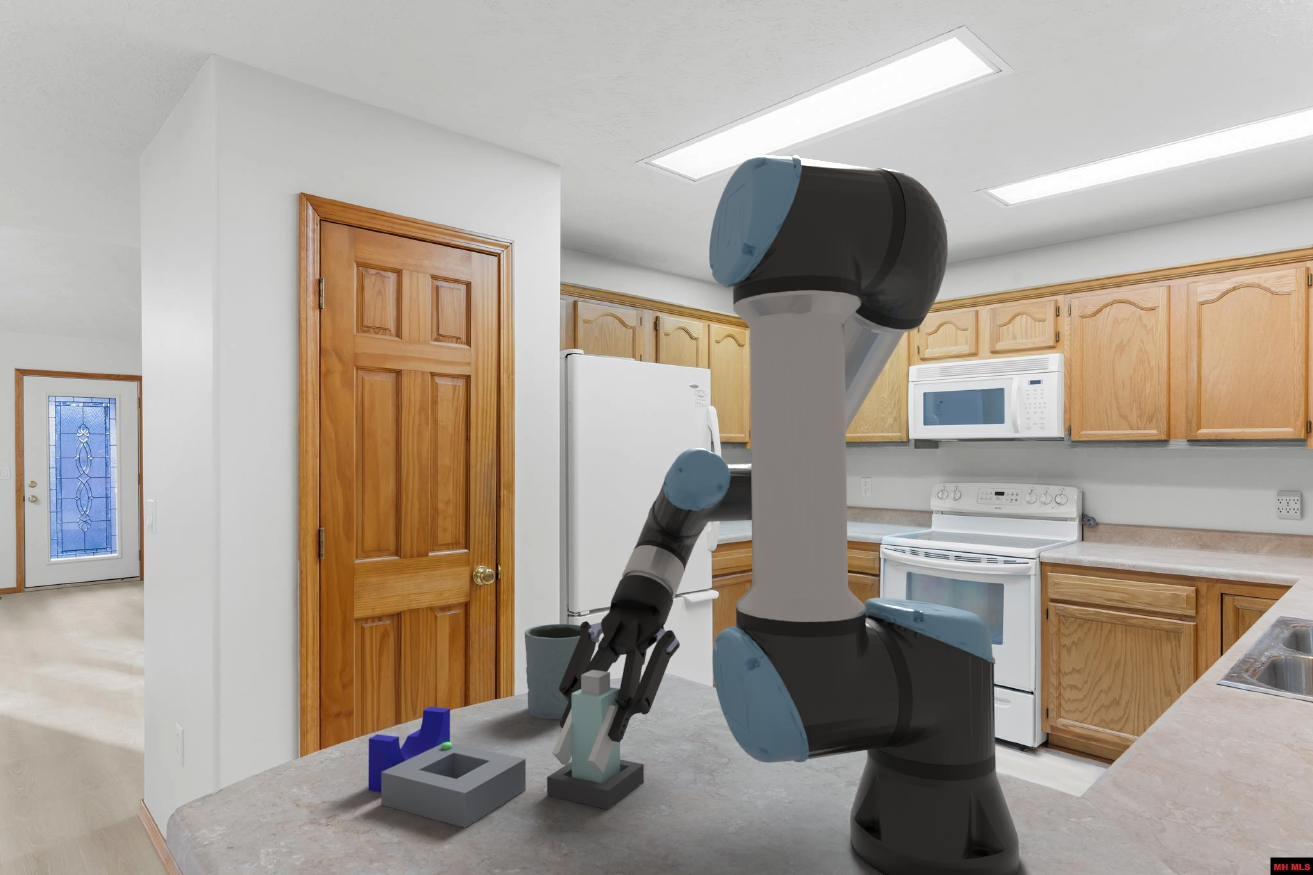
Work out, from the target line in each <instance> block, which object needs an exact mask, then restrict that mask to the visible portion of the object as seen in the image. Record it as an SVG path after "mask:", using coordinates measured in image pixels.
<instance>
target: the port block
mask: <svg viewBox="0 0 1313 875" xmlns="http://www.w3.org/2000/svg"><path fill="white" fill-rule="evenodd" d="M526 764H527V763H526V758H524V757H519V756H514V755H509V754H504V753H499V752H495V751H491V750H490V751H489V750H485V749H481V748H476V747H471V746H467V745H462V744H457V743H453V742H451V741H450V742H445V743H442V744H441V745H439V746H436V747H434V748H432V749H430V750H428V751H426V752H424V753H421V754H419V755H417V756H415V757H413V758H411V759H408V760H406V761H404V762H402V763H400V764H398V765H396V766H393V767H391V768H389V769H387V770H385V771H383V772H381V792H380V796H381V799H380V800H381V801H380V802H381V806H385V807H390V808H393V809H397V810H400V811H403V812H407V813H410V814H413V815H417V816H421V817H425V818H428V819H433V820H436V821H439V822H443V823H447V824H450V825H453V826H457V827H459V828H464V829H466V828H467V827H469V826H471V825H473V824H474V823H475V822H477V821H479V820H480V819H482V818H483V817H485V816H487V815H488V814H489V813H491V812H493V811H495V810H496V809H498V808H500V807H501V806H503V805H505V804H506V803H508V802H509V801H510V800H512V799H514V798H515V797H517V796H518V795H520V794H521V793H524V792H525V791H526V787H527V786H526V784H527V781H526V780H527V779H526V776H527V774H526V766H527V765H526Z"/></svg>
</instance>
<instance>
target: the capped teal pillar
mask: <svg viewBox="0 0 1313 875" xmlns="http://www.w3.org/2000/svg"><path fill="white" fill-rule="evenodd" d="M619 691H620V688H618V687H617V688H616V687H612V686H611V672H610V671H607V672H605V671H597V670H591V671H589V672H587V673H584V674H582V675H581V689H580V690H578V691H576V692H574V693H572V756H571V762H572V777H574V778H579V779H583V780H588V781H592V782H597V783H601V784H605V783H606V782H608V781H609V780H610V779H612V778H613V777H615V776H616V775H617V774H619V773H620V759H621V741H620V742H615V743H614V746H613V749H612V751H611V754H610V757H609V759H608V762H607V765H606V767H605V770H604V773H600V772H597V771H596V770H595V768H594V767H593V766H592V765H591V763H590V762H589V761H588V759H589V756H590V754H591V751H592V749H593V746H594V744H595V741H596V739H597V736H598V734H599V731H600V728H601V726H602V724H603V721H604V719H605V716H606V714H607V711H608V709H609V706H610V705H612V706H616V708H618V705H617V703H616V702H615V699H616V700H617V699H618V696H619ZM617 701H618V700H617Z"/></svg>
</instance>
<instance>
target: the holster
mask: <svg viewBox="0 0 1313 875" xmlns="http://www.w3.org/2000/svg"><path fill="white" fill-rule="evenodd" d="M644 768H645V766H644V763H640V762H635V761H631V760H630V761H629V760H626V759H625V760H624V759H621V758H620V773H619V774H617V775H616V776H615V777H613V778H612V779H610V780H609V781H608V782H606V783H605V784H601V783H597V782H592V781H588V780H583V779H579V778H574V777H572V761H569V763H568V766H567V765H564V766H562V767H561V768H559V769H558V770H556V771H554V772H553V773H551V774H550V775H548V776H546V793H547V794H546V796H549V797H553V798H557V799H562V800H566V801H570V802H573V803H578V804H582V805H583V804H584V805H587V806H591V807H595V808H600V809H603V810H606V811H607V810H610V809H611V808H612V807H613V806H615V805H616V804H617V803H618V802H620V801H621V800H622V799H623V798H625V797H626V796H627V795H629V794H630V793H631V792H632V791H634V790H635V789H636V788H638V787H639V786H641V785H642V783H643V782H645V779H644V778H645V775H644V774H645V773H644V772H645V769H644Z"/></svg>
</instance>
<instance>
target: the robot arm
mask: <svg viewBox="0 0 1313 875" xmlns="http://www.w3.org/2000/svg"><path fill="white" fill-rule="evenodd" d="M943 216H944V215H943V214H942V211H941V209H940V207H939V204H938V202H937V201H936V200H935V199H934V197H933V195H932V194H931V193H930V192H929V190H928V189H927V188H926V187H925V186H924V185H923V184H922V183H921V182H919V181H918V180H916V179H915V178H914V177H912V176H910V175H908V174H906V173H903V172H900V171H898V170H897V171H896V170H893V169H890V168H889V169H888V168H881V167H880V168H879V167H878V168H872V167H864V166H857V165H850V164H843V163H835V162H829V161H821V160H815V159H814V160H813V159H807V158H800V157H799V155H793V154H792V155H787V156H778V155H777V156H776V155H765V154H763V155H755V156H752V157H750V158H748V159H746V160H745V161H744V162H742V164H740V165H739V166H738V167H737V168H736V170H735V171H734V172H733V173H732V175H731V176H730V178H729V180H728V181H727V183H726V185H725V187H724V189H723V191H722V194H721V196H720V199H719V202H718V204H717V207H716V211H715V213H714V217H713V220H712V221H713V222H712V226H711V232H710V238H709V239H710V240H709V248H708V252H709V254H708V256H709V257H708V258H709V259H708V260H709V268H710V269H711V271H712V272H711V273H712V274H711V275H712V277H713V279H714V280H715V282H717V283H718V284H719V285H722V286H723V287H725V288H731V287H732V293H733V294H732V297H733V299H732V300H733V302H732V304H733V312H734V313H735V314H736V315H737V316H738V317H739V318H740V319H741V320H743V322H745V324H746V325H747V326H748V328H749V361H750V362H749V363H750V364H749V367H750V368H749V369H750V371H749V372H750V373H749V376H750V377H749V378H750V379H749V380H750V383H749V384H750V388H749V389H750V463H727V462H726V461H725V459H723V457H722V456H721V455H720V454H718V453H716V452H712V451H710V450H707V449H706V448H702V447H694V448H690V449H687V450H684V451H682V452H681V453H680V454H679V455H678V456H677V457H676V458H675V460H674V461H673V463H672V464H671V466H670V468H669V469H668V471H667V472H666V474H665V476H664V480H663V483H662V485H661V488H660V491H659V493H658V495H657V496H656V497H655V500H654V501H653V502H652V505H651V507H650V509H649V511H648V515H647V518H646V520H645V523H644V524H643V527H642V529H641V532H640V534H639V536H638V538H637V541H636V544H635V547H634V548H633V551H632V552H631V554H630V557H629V558H628V561H627V563H626V565H625V567H624V570H623V572H622V574H621V575H622V576H621V579H620V580H619V581H618V583H617V586H616V589H615V591H614V594H613V595H612V598H611V600H610V607H609V611H608V612H607V614H606V615H604V616H603V618H601V621H600V622H597V623H593V624H590V622H588V621H587V620H585V621H582V622H581V624H580V638H579V640H578V643H577V645H576V647H575V650H574V652H573V655H572V657H571V660H570V662H569V664H568V667H567V669H566V672H565V674H564V677H563V679H562V681H561V684H560V686H559V690H560V692H561V693H562V694H563V696H564V697H565V698H566V699H567V701H568V705H567V707H566V709H565V711H564V714H563V716H562V718H561V719H560V720H559V727H560V728H561V731H560V733H559V736H558V739H557V741H556V743H555V746H554V747H553V751H552V755H553V756H554V757H555V758H556V759H557V761H558V762H560V764H561V765H564V766H565V765H567V766H568V764H569V763H570V762H571V760H572V693H574V692H576V691H578V690H580V689H581V675H582V674H584V673H587V672H589V671H591V670H597V671H605V672H609V671H610V670H609V669H610V668H611V667H612V665H613V664H615V663H617V661H618V660H619V658H620V657H621V656H623V655H626V656H625V661H624V665H623V670H622V671H623V672H622V676H621V680H620V686H619V689H620V691H619V696H618V699H617V700H618V701H617V700H616V699H615V702H616V703H617V705H618V708H616V706H612V705H610V706H609V709H608V711H607V714H606V716H605V719H604V721H603V724H602V726H601V728H600V731H599V734H598V736H597V739H596V741H595V744H594V746H593V749H592V751H591V754H590V756H589V759H588V761H589V762H590V763H591V765H592V766H593V767H594V768H595V770H596V771H597V772H600V773H604V770H605V767H606V765H607V762H608V759H609V757H610V754H611V751H612V749H613V746H614V743H615V742H620V743H621V742H622V740H623V739H624V736H625V733H626V731H627V728H628V725H629V722H630V720H631V718H632V717H633V716H634V715H636V714H637V715H638V714H641V715H648V713H650V711H651V709H652V707H653V704H654V700H655V699H656V696H657V692H658V690H659V689H660V686H661V683H662V680H663V678H664V675H665V673H666V671H667V667H668V665H669V662H670V660H671V658H672V657H673V656H674V654H675V653H676V652H677V650H678V649H679V648H680V646H681V643H680V641H679V639H678V638H677V636H676V634H675V633H674V631H673V630H669V629H668V630H665V627H664V626H665V624H666V623H667V620H668V617H669V616H670V612H671V609H672V607H673V604H674V599H675V597H676V595H677V593H678V589H679V587H680V584H681V582H682V580H683V576H684V573H685V572H686V568H687V565H688V562H689V560H690V557H691V556H692V553H693V550H694V547H695V545H696V543H697V541H698V540H699V537H700V536H701V534H702V533H703V531H704V529H705V528H706V527H707V525H708V524H709V523H710V522H711V523H713V522H733V521H734V522H735V521H737V522H738V521H742V522H743V521H751V563H752V564H751V567H752V568H751V569H752V570H751V571H752V572H751V574H752V575H751V577H752V581H751V582H752V584H751V586H750V588H749V589H748V590H747V591H746V592H745V593H744V594H743V595H742V596H741V597H740V598H738V600H737V601H736V603H735V617H736V618H735V620H736V621H735V626H727V627H726V628H725V629H723V630H721V631H720V632H719V633H718V634H717V636H716V638H715V641H714V642H715V644H714V645H713V649H712V672H713V679H714V684H715V690H716V694H717V699H718V702H719V705H720V709H721V711H722V715H723V717H724V719H725V722H726V724H727V727H728V729H729V732H731V734H732V736H733V737H734V739H735V741H736V742H737V744H738V745H739V747H740V748H741V749H742V750H743V751H744V752H745V753H746V754H747V755H748V756H750V757H751V758H752V759H754V760H756V761H758V762H762V763H766V764H767V763H770V764H773V763H781V762H783V763H785V762H795V763H805V762H806V761H808V760H812V759H818V758H825V757H831V756H837V755H843V754H844V755H845V754H850V753H856V752H857V753H858V752H862V751H866V753H867V754H866V763H865V764H864V768H863V772H862V775H861V778H860V780H859V785H858V787H857V791H856V794H855V797H854V801H853V803H852V806H851V810H850V817H849V819H850V820H849V822H850V823H849V824H850V827H849V828H850V830H849V831H850V832H849V833H850V841H851V844H852V847H853V849H854V851H855V853H857V854H858V855H859V856H860V858H862V859H863V860H864V861H865V862H867V863H868V864H870V865H871V866H872V867H874V868H876V869H877V870H879V871H881V872H883V873H885V874H887V875H1016V874H1017V872H1018V871H1019V867H1020V842H1019V836H1018V832H1017V829H1016V826H1015V824H1014V820H1013V818H1012V815H1011V812H1010V809H1009V807H1008V804H1007V802H1006V798H1005V795H1004V792H1003V790H1002V787H1001V784H1000V781H999V778H998V774H997V765H996V764H997V762H996V758H997V757H996V730H995V729H996V725H995V724H996V723H995V722H996V721H995V718H996V717H995V716H996V714H995V713H996V712H995V711H996V710H995V665H996V659H995V657H994V656H993V647H992V646H993V644H992V642H993V640H992V632H991V629H990V628H991V627H990V625H989V623H987V622H986V619H984V618H983V617H982V616H980V615H978V614H976V613H974V612H971V611H968V610H965V609H960V608H957V607H951V606H948V605H947V606H946V605H941V604H937V603H936V604H935V603H931V602H925V601H924V602H923V601H918V600H911V599H902V598H893V597H873V598H868V599H867V600H866V601H864V603H863V602H862V601H861V600H860V599H859V598H858V597H857V596H856V595H855V594H854V593H853V592H852V591H851V590H850V588H849V581H848V580H849V572H848V570H849V567H848V562H849V561H848V506H847V505H848V504H847V503H848V502H847V501H848V498H847V496H848V494H847V492H848V491H847V488H848V487H847V485H848V484H847V436H846V435H847V434H846V433H847V431H848V429H849V428H850V426H851V424H852V423H853V421H854V419H855V417H856V416H857V414H858V413H859V411H860V409H861V407H862V406H863V403H864V402H865V400H866V399H867V397H868V396H869V394H870V392H871V390H872V389H873V387H874V385H875V384H876V382H877V380H878V379H879V377H880V375H881V373H882V371H883V370H884V369H885V367H886V365H887V363H888V361H889V360H890V358H891V356H892V355H893V353H894V351H895V350H896V348H897V346H898V345H899V343H900V341H901V339H902V338H903V336H904V335H905V333H906V332H912V331H915V330H916V329H918V328H919V327H920V326H921V325H922V323H923V322H924V321H925V319H926V317H927V315H928V314H929V312H930V310H932V308H933V306H934V304H935V301H936V299H937V297H938V295H939V292H940V290H941V287H942V283H943V281H944V277H945V274H946V267H947V263H948V250H949V248H948V247H949V246H948V243H949V242H948V232H947V231H948V230H947V226H946V223H945V219H944V217H943ZM602 634H603V636H602V638H601V639H600V637H601V635H602ZM655 643H656V644H655ZM597 644H598V645H597ZM654 644H655V645H654ZM653 645H654V647H653ZM596 646H597V650H596V652H595V649H596ZM651 647H653V648H652V652H651V655H650V656H649V660H648V662H647V664H646V666H645V669H644V672H643V671H642V670H643V666H644V665H645V663H646V657H647V651H648V649H649V648H651ZM642 672H643V674H642Z"/></svg>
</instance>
